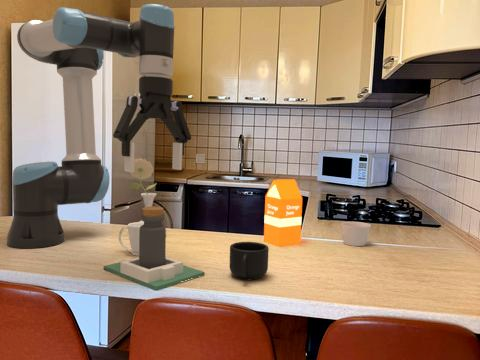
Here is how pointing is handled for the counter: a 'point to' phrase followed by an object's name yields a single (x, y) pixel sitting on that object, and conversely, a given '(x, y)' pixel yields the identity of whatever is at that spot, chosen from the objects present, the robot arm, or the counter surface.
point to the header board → (154, 273)
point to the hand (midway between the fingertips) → (154, 170)
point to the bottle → (152, 238)
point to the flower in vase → (143, 171)
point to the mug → (249, 259)
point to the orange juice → (283, 213)
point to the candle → (355, 233)
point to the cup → (132, 237)
